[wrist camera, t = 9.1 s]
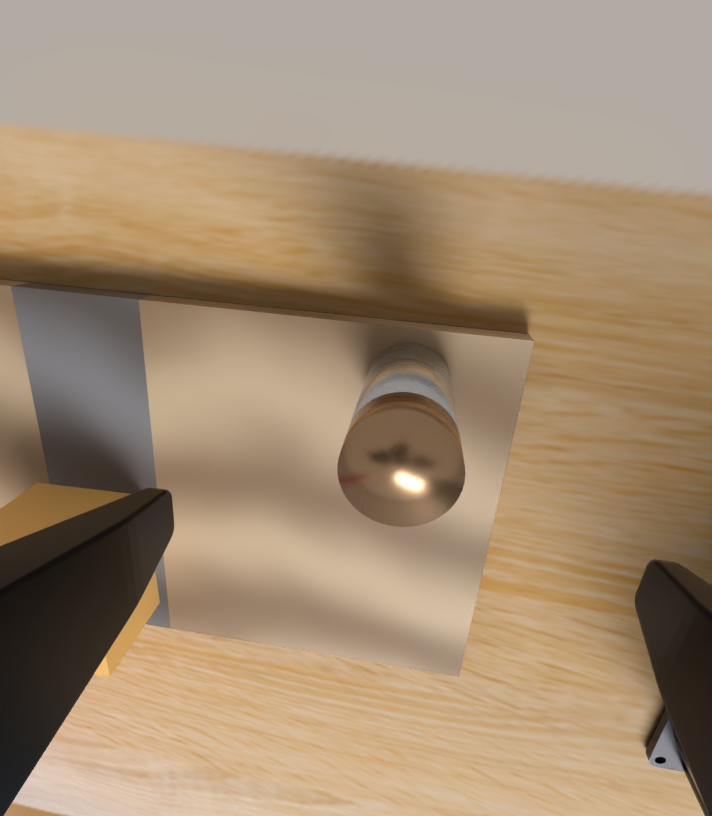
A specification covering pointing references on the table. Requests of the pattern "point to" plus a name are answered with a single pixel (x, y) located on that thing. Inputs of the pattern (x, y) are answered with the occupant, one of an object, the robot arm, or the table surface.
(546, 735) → the table surface
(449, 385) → the metal peg
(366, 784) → the table surface
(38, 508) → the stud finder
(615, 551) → the table surface
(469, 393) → the beige flat piece
